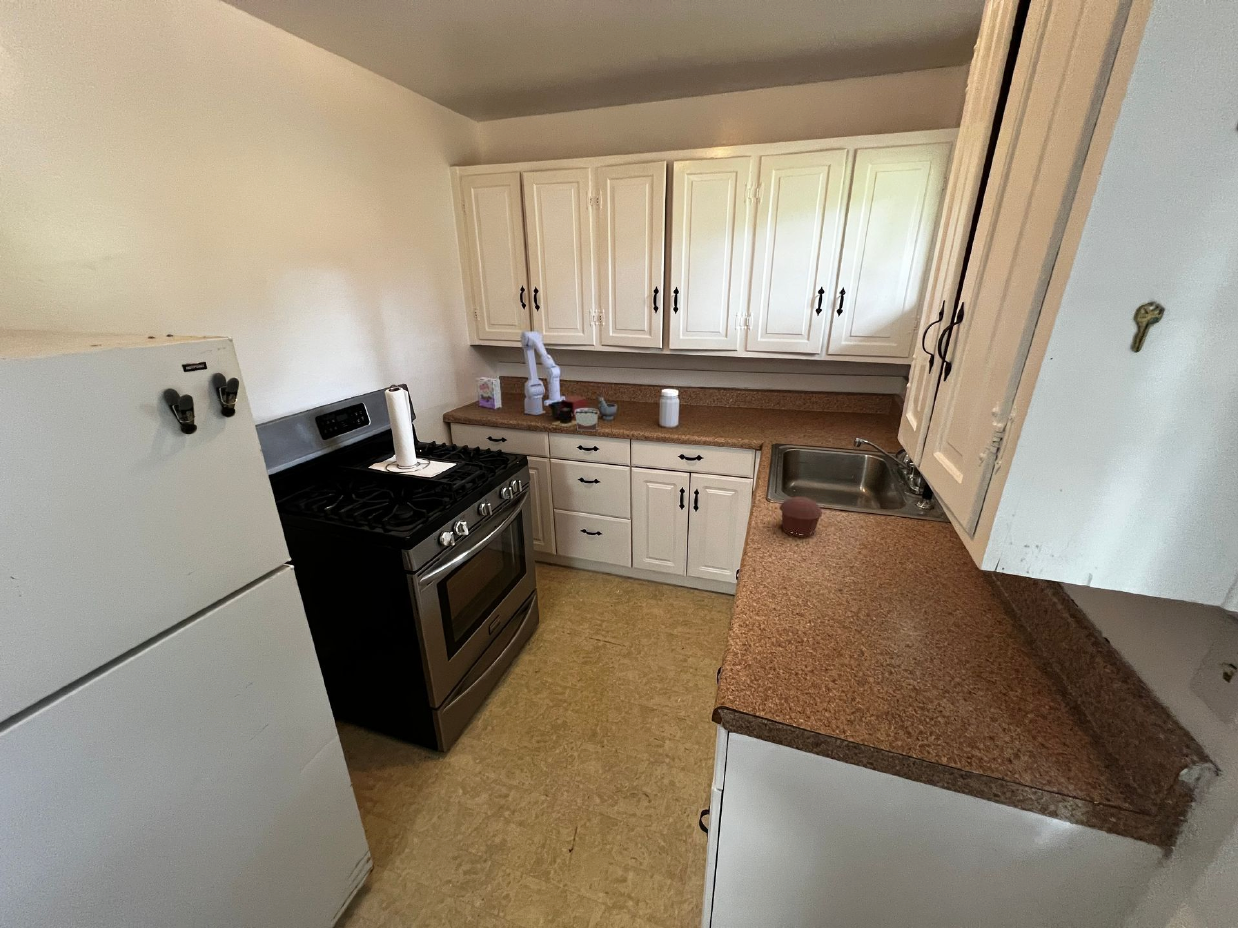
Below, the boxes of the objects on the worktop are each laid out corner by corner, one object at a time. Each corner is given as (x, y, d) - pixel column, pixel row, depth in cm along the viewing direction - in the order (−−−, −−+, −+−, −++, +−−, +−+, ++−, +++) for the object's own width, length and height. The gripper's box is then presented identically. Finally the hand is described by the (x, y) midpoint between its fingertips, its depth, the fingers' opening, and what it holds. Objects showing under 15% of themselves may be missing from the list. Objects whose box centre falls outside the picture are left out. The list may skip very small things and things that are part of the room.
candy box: (478, 406, 281) (475, 378, 275) (486, 404, 285) (483, 376, 279) (494, 409, 273) (491, 380, 267) (502, 407, 278) (499, 379, 272)
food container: (601, 427, 241) (600, 407, 237) (599, 430, 235) (599, 411, 231) (576, 426, 242) (576, 407, 238) (574, 430, 236) (574, 410, 232)
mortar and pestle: (607, 414, 263) (607, 393, 259) (620, 417, 257) (620, 395, 253) (593, 418, 255) (592, 396, 251) (606, 422, 249) (605, 399, 245)
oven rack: (550, 417, 254) (549, 412, 253) (565, 411, 264) (565, 407, 263) (562, 419, 250) (562, 414, 249) (578, 414, 260) (577, 409, 259)
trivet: (552, 424, 245) (552, 423, 245) (564, 419, 253) (564, 418, 253) (567, 427, 240) (567, 426, 240) (579, 422, 248) (579, 421, 248)
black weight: (559, 422, 246) (559, 409, 243) (565, 420, 249) (564, 407, 247) (566, 424, 244) (565, 410, 241) (571, 422, 247) (571, 408, 245)
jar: (675, 422, 249) (676, 388, 242) (680, 427, 240) (682, 392, 233) (656, 423, 247) (657, 388, 241) (661, 428, 238) (662, 393, 232)
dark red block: (558, 415, 261) (557, 399, 258) (571, 410, 271) (571, 395, 268) (574, 418, 256) (573, 401, 253) (587, 413, 265) (587, 397, 262)
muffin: (815, 523, 146) (820, 493, 142) (821, 541, 135) (827, 510, 132) (775, 519, 148) (779, 490, 144) (778, 537, 138) (782, 505, 134)
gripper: (550, 394, 238) (552, 420, 243) (569, 389, 250) (570, 414, 255) (540, 392, 242) (541, 418, 247) (558, 387, 253) (559, 412, 258)
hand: (555, 416), depth 251 cm, fingers closed
